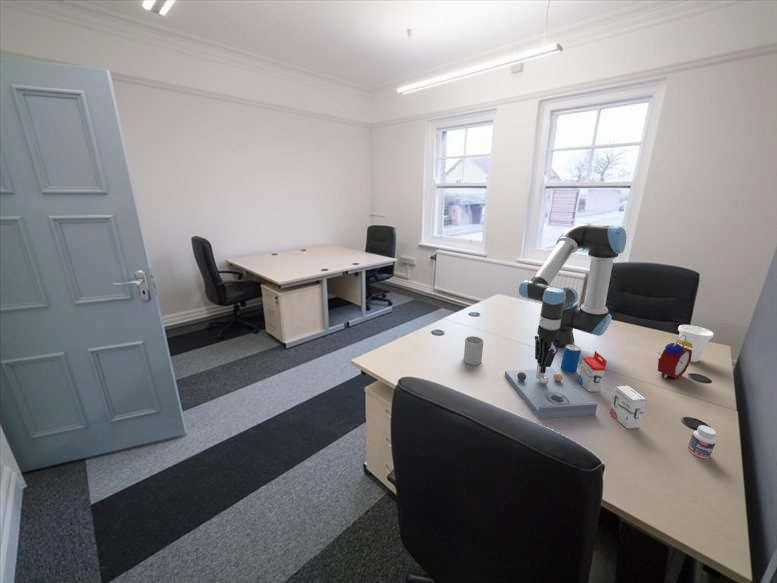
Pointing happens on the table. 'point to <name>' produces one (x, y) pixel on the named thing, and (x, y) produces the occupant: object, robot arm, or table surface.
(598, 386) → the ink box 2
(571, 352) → the beverage can
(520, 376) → the rubber ball
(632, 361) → the table surface
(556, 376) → the terracotta ball
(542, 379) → the steel ball
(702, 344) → the cup
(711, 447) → the pill bottle
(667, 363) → the alarm clock
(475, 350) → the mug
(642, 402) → the ink box
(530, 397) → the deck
